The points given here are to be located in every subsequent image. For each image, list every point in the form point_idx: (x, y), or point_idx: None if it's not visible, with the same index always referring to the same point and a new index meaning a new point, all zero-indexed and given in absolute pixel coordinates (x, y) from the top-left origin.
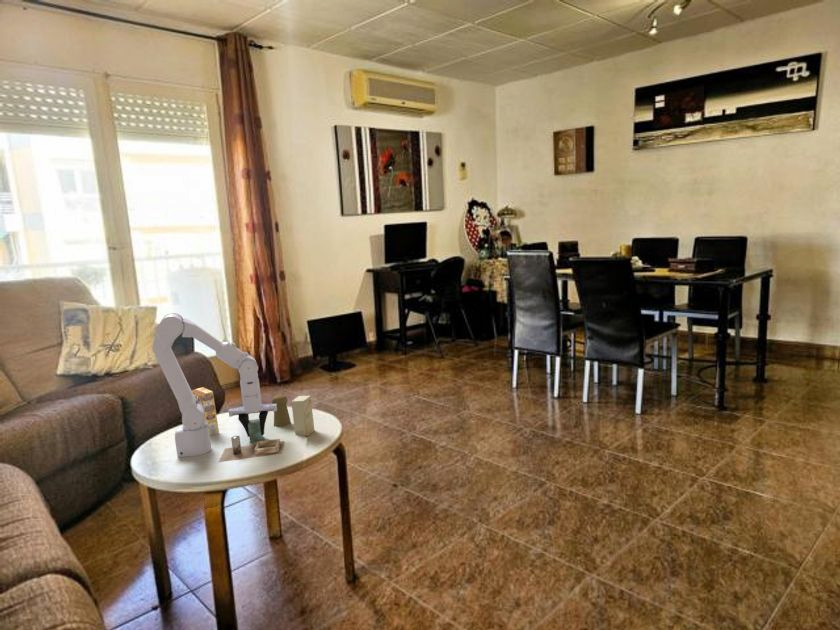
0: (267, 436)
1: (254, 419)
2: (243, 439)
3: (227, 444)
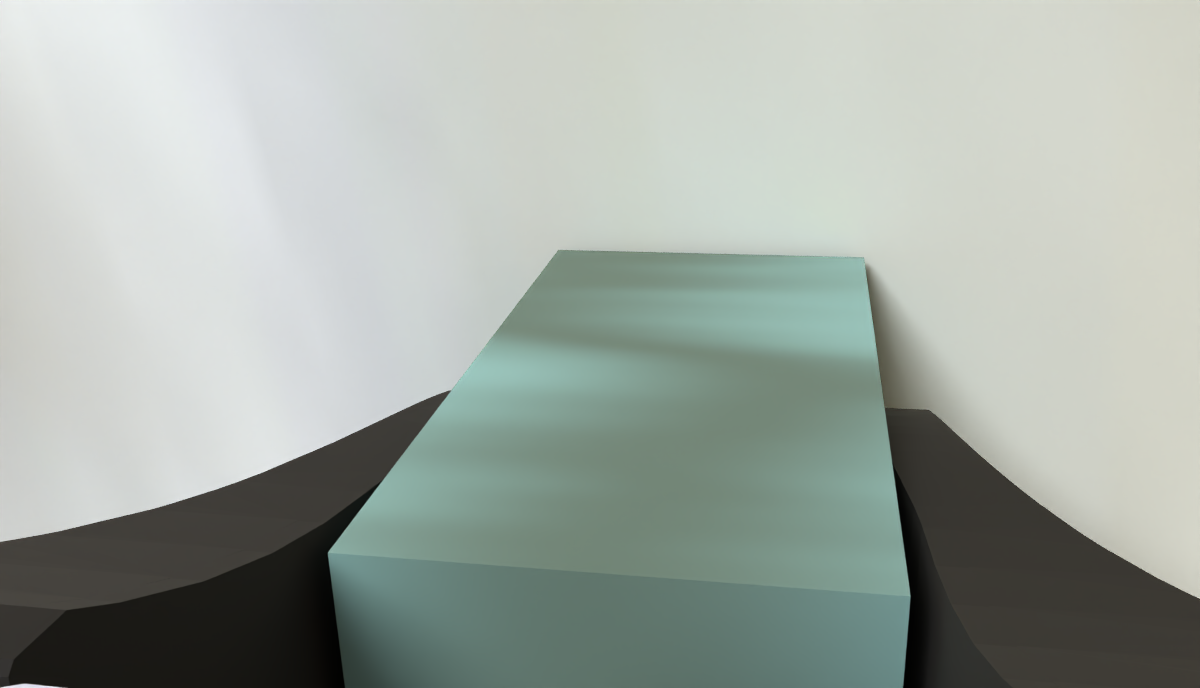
0: (971, 24)
1: (573, 581)
2: (301, 29)
3: (7, 244)
